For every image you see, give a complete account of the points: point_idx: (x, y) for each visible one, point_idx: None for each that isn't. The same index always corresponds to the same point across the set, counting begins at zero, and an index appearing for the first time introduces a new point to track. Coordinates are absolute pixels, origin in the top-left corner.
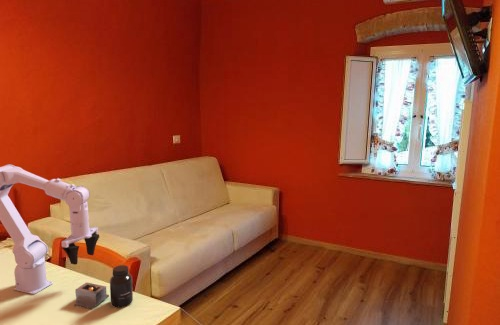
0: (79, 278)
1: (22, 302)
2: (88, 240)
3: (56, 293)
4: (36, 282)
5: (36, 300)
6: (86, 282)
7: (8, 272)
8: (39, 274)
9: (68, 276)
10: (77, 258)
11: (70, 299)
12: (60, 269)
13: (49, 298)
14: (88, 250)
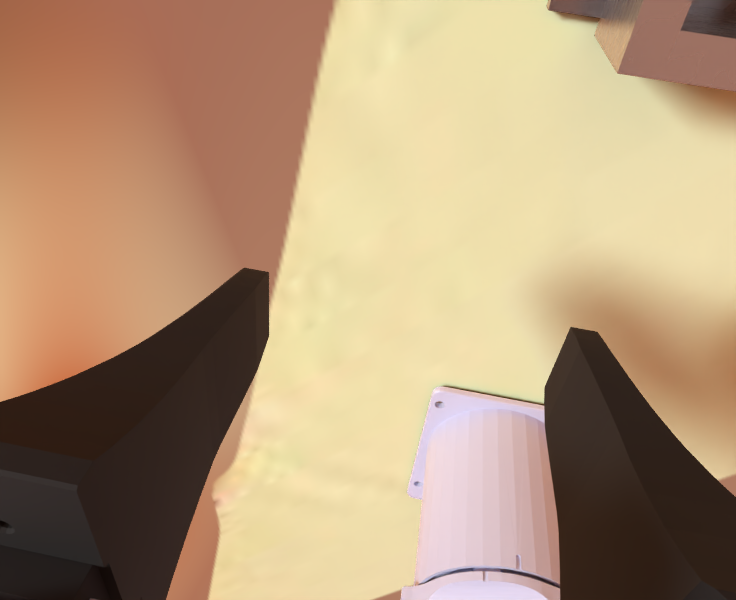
0: (326, 266)
1: (687, 423)
2: (168, 508)
3: (567, 301)
4: (549, 469)
5: (667, 367)
6: (618, 73)
7: (370, 588)
8: (533, 506)
9: (323, 347)
10: (597, 378)
11: (671, 146)
12: (261, 427)
13: (643, 308)
14: (247, 367)
